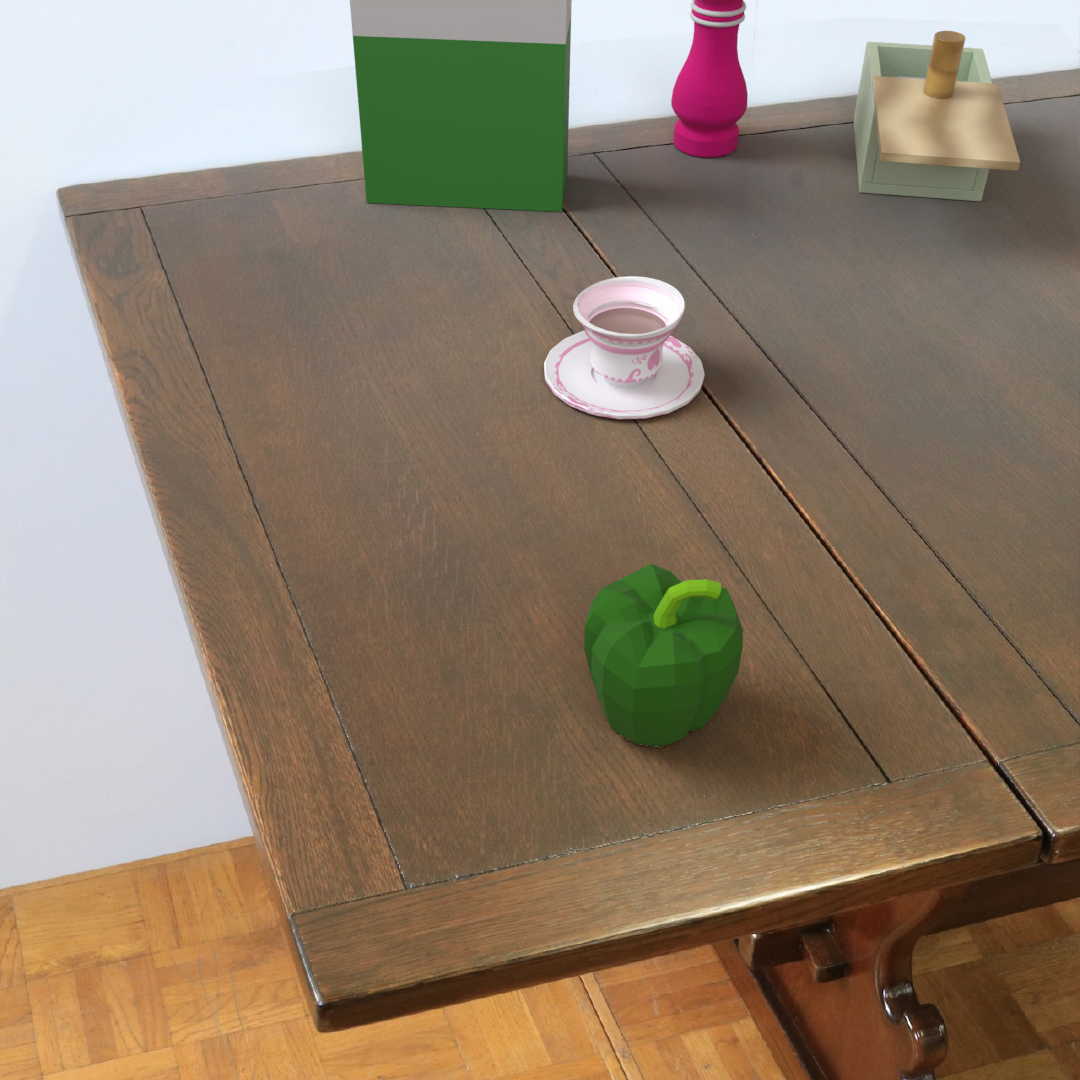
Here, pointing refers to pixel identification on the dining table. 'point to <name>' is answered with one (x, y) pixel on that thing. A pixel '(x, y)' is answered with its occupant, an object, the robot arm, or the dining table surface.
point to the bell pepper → (662, 653)
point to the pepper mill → (711, 82)
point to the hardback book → (464, 101)
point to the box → (869, 167)
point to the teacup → (625, 352)
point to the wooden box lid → (943, 115)
